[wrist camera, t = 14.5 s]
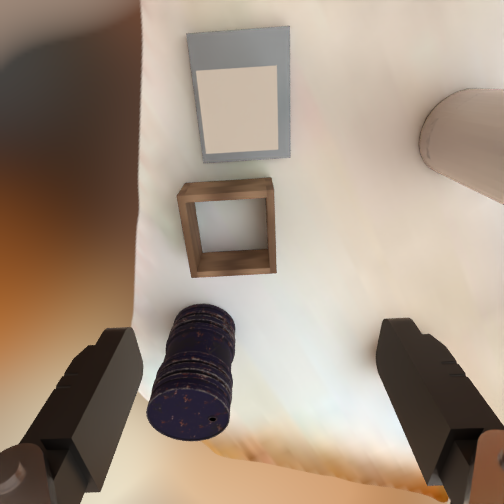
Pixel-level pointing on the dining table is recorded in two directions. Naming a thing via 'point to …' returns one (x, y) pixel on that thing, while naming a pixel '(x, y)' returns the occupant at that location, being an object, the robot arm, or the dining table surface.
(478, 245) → the dining table surface
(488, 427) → the robot arm
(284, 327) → the dining table surface
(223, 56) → the blue-grey square panel
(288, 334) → the dining table surface
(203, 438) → the dark blue cylinder
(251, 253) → the crate
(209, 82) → the tea tin
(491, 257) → the dining table surface
